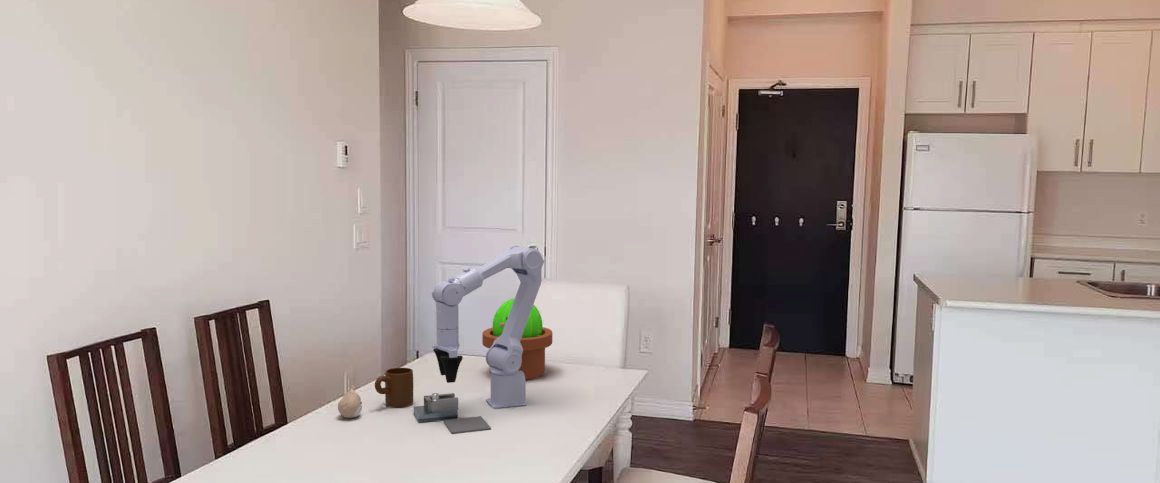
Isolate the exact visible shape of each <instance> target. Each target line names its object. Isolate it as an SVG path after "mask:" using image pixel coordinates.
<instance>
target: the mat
mask: <svg viewBox="0 0 1160 483" xmlns="http://www.w3.org/2000/svg"><path fill="white" fill-rule="evenodd" d="M442 422H443V424H444V425H445V426H446V428H447V429H448V432H450V434H451V435H454V434H462V433H463V434H464V433H471V432H472V433H474V432H479V431H481V432H482V431H489V430H492V427H491V426H490V425H489V423H488V422H487V421H486V420H485V419H484V418H483V417H482V416H481V415H479V416H468V417H461V418H459V417H458V419H450V420H443V421H442Z"/></svg>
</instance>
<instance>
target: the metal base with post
mask: <svg viewBox="0 0 1160 483" xmlns="http://www.w3.org/2000/svg"><path fill="white" fill-rule="evenodd" d="M431 395H432V400H436V399H439V393H438V392H435V393H431ZM413 416H414V417H415V419H416V421H417V422H418V423H419V424H421V423H431V422H440V421H441V422H443V420H450V419H459V417H458V416H459V414H458V410H452V411H442V412H432V413H428V412H427V411H426V409H425V408H424V405H415V406H413Z"/></svg>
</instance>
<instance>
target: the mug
mask: <svg viewBox="0 0 1160 483" xmlns="http://www.w3.org/2000/svg"><path fill="white" fill-rule="evenodd" d="M384 374H385V375H380V376H379V377H377V378H376V380H375V382H374V389H375V391H376V392H377V393H378V394H380V395H384V398H385V402H384V403H385V405H386V406H388V407H390V408H398V409H399V408H406V407H409V406H412V404H413V403H414V371H413V368H408V367H393V368H388V369H387V370H385V373H384ZM382 382H384V387H382V385H381V384H382Z"/></svg>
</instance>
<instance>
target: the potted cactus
mask: <svg viewBox="0 0 1160 483" xmlns="http://www.w3.org/2000/svg"><path fill="white" fill-rule="evenodd" d="M514 299H515V297H514V298H513V297H511V298H509V299H507V301H503V302H502V303H501V305H500V306H499V307H498V308H497V309H495V310H496V312H494V315H493V318H492V325H490V327H489V328H487V329H485V330H483V332H482V341H481V342H482V343H481V344H482V345H483V347H485V348H487V349H490V347H491V346H492V345H493V343H494V340H495V339H497V338H498V337H499V336H501V335H502V332H503V329H504V327H505V324H506V321H507V318H508V316H509V313H510V310H511V308H512V305H513V302H514ZM520 343H521V345H522V348H523V353H522V363H521V367H520V368H519V370H518V371H523V373H524V375H525V381H529V380H535V379H538V378H541V377H542V376H543V375H544V374H546V373H545V372H546V348H549V347H550V346H551V345H552V344H553V330H552V329H550V328H548V327H544V326H543V319H542V316H541V312H540V310H539V309H538V308H537V306H536V305H535V303H534V304H533V307H532V310H531V313H530V315H529V318H528V321H527V324H526V326H525V329H524V332H523V335H522V337H521V340H520ZM507 349H508V348H507ZM489 374H490V375H491V371H490V370H489Z"/></svg>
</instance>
